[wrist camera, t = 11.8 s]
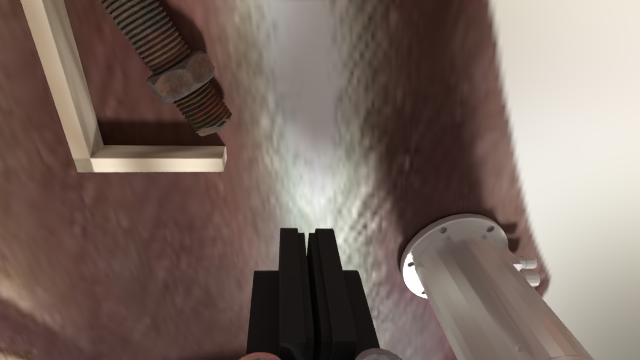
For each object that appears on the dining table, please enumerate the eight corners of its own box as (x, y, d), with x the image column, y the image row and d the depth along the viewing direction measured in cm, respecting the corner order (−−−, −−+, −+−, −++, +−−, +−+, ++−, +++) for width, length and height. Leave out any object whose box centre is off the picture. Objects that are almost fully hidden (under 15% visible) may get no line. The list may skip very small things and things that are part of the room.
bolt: (214, 113, 30) (84, -78, 22) (256, 101, 28) (126, -121, 20) (174, 153, 27) (-1, -62, 19) (218, 144, 24) (38, -112, 16)
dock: (197, -193, 19) (188, -215, 17) (226, 158, 31) (223, 171, 28) (-23, -223, 18) (-64, -251, 16) (92, 158, 29) (77, 172, 27)
